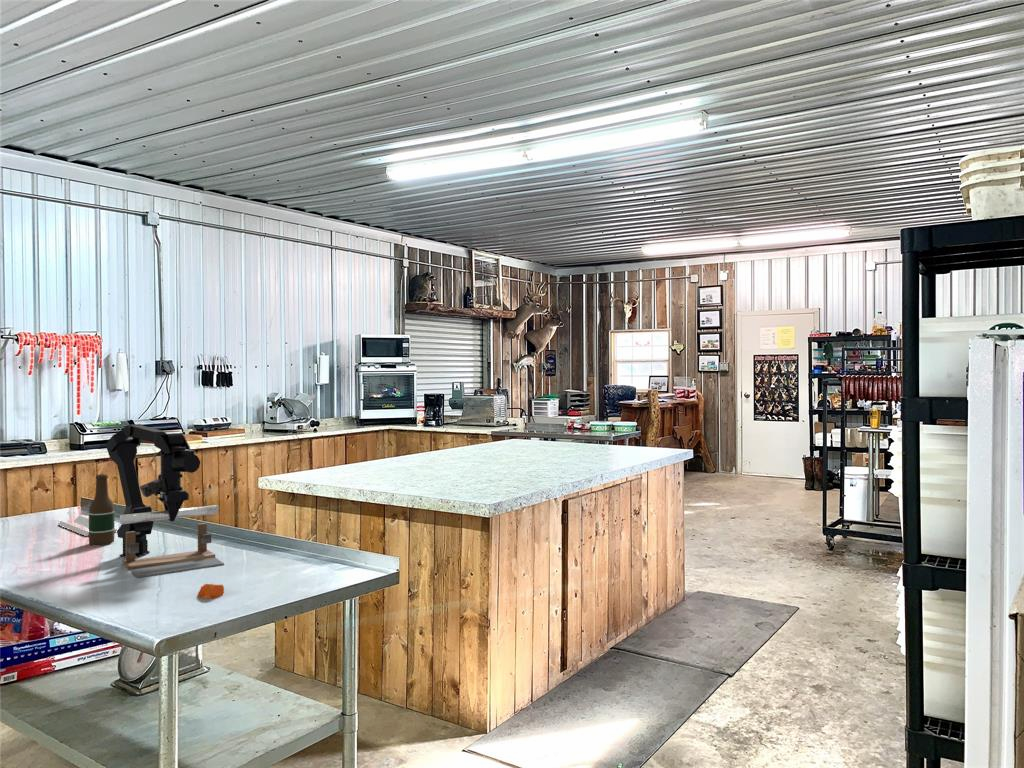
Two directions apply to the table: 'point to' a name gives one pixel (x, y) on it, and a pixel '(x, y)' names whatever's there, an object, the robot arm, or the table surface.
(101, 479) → the beer bottle
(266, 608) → the table surface
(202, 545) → the hook stand
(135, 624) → the table surface
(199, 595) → the rock
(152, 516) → the steel rail
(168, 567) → the rubber mat
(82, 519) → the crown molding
